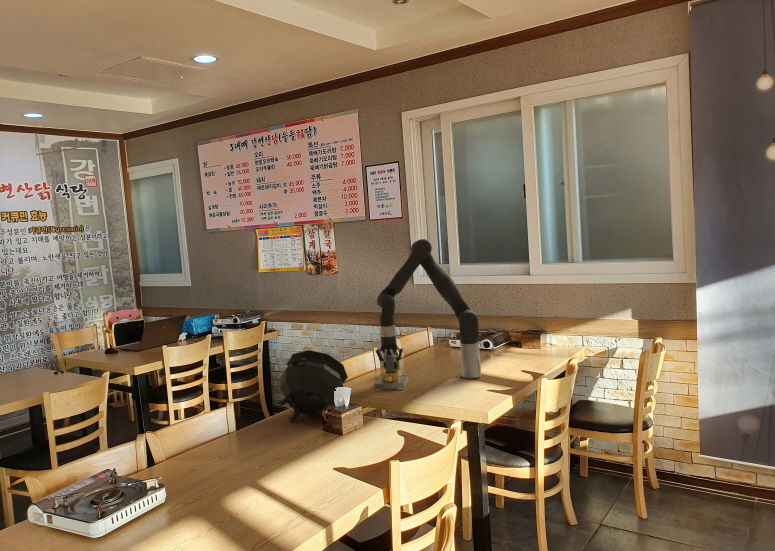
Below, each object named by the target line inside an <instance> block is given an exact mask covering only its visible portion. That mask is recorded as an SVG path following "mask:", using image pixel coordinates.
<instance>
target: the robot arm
mask: <svg viewBox="0 0 775 551" xmlns="http://www.w3.org/2000/svg"><path fill="white" fill-rule="evenodd" d="M432 250H433V246H432V244H431V242H430V241H429V240H428V239H425V238H420V239H418V240H416V241H414V242H413V243H412V244H411V246H410V252H411V253H410V255H409V257H408V259H406V261H405V262H404V263H403V265H402V266H401V267H400V268H399V270H398V271H397V272H396V273H395V274H394V275H393V277H392V279H391V280H390V282H389V283H388V284H387V286H386V287H385V288H384V289H383V290H382V291H381V292H380V293H379V294H378V296H377V299H376V304H377V306H378V307H380V308H381V314H380V315H379V325H380V326H379V328H380V329H379V334H380V348H376V350H375V354H376V355H377V357H378V359H379V360H378V361H379V362H382V363H383V368H384V370H386V359H385V358H386V356H388V355H391V356H392V358H394V369H395V370H396V368H397V361H399V362H400V360H401V358H402V355H403V351H404V348H403V347H399V346H398V344H397V332H396V325H395V323H396V322H395V310H396V301H395V297H396V295H399V294H400V293H401V292H402V291H403V290H404V288H405V286H406V285H407V283H408V282H409V280H410V279H411V278H412V276H413V275H414V272H416V270H417V269H418V268H419V266H421V268H423V270H424V272H425V273H426V275H427V276H428V278H429V280H430V282H431V283H432V285H433V286H434V288H435V289H436V291H437V292H438V293H439V295H440V296H441V298H442V299H443V300H444V301H445V302H446V303H447V304H448V305H449V306H450V308H451V310H452V311H453V313H454V314H455V316H456V318H457V321H458V325H459V347H460V359H461V360H460V361H461V374H462V377H463V378H464V379H478V378H481V376H482V367H481V366H482V365H481V356H480V355H481V354H480V342H479V341H480V338H479V337H480V331H479V330H480V329H479V318H478V315H477V314H476V313H475V312H474V310H472V308H471V307H470V306H469V305H468V303H467V302H466V301H465V300H464V297H463V296H462V294H461V292H460V290H459V287H457V285H456V283H455V281H454V280H453V279H452V276H450V274H449V273H448V272H447V271H446V269H444V268H443V267H442V266H441V265H440V264H439V263H438V262H437V260H436V259H435V257H433V255H432ZM395 352H397V353H398V358H396V354H395ZM381 353H383V356H382V354H381Z"/></svg>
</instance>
